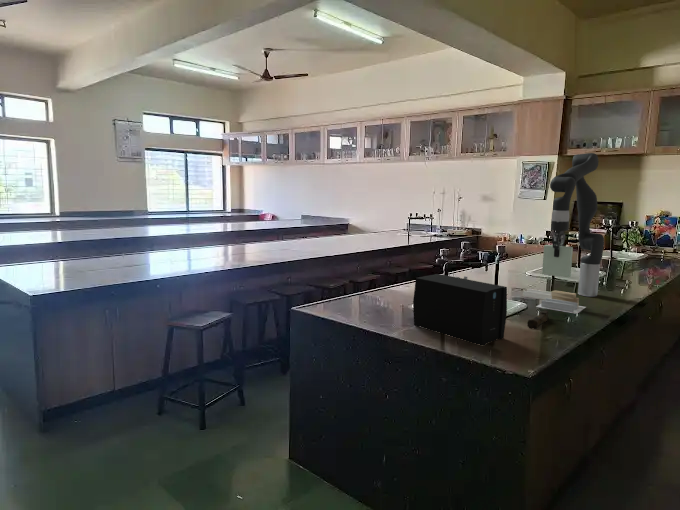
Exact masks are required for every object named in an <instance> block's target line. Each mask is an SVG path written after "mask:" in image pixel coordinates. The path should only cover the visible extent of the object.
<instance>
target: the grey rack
mask: <svg viewBox="0 0 680 510" xmlns="http://www.w3.org/2000/svg"><path fill="white" fill-rule="evenodd" d="M535 307H536V308H541V309H545V310H547V309H548V310H553V311H560V312H564V313H571V314H575V315H576V314H579V313H581V312H582V311H583V310H584V309H586V308H587V306H582V305H579V306H578V303H575V302H569V301H563V300H556V299H550V298H546V300H541V303H540V304H538V305H536V306H535Z"/></svg>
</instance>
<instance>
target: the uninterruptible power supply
mask: <svg viewBox="0 0 680 510" xmlns="http://www.w3.org/2000/svg"><path fill="white" fill-rule="evenodd" d="M457 277H458V276H451V275H446V274H441V273H440V274H439V273H435V274H429V275H424V276H419V277H418V276H417V277H415V281H414V282H415V283H414V292H413V299H412V300H413V301H412V310H413V311H412V313H413V326H414V325H417V326H416V327H418V326H421V327H424V328H427V329H426V330H428V329H430V330H429V331H431V330H433V331H432V332H434V331H437V332H440V333H439V334H441V333H443V334H442V335H444V334H447V335H450V336H453V337H452V338H454V337H456V338H455V339H457V338H460V339H463V340H462V341H464V340H466V341H465V342H467V341H469V342H468V343H470V342H472V343H471V344H473V343H476V344H475V345H477V344H480V345H485V344H486V343H487V344H489V343H488V342H490V343H492V342H495V341H497V340H496V339H498V340H503V339H504V336H505V328H506V323H507V314H508V313H507V312H508V286H505V285H504V286H503V285H499V284H494V283H493V284H492V283H488V282H482V281H477V280H472V279H468V278H467V279H464V278H461V277H460V278H457ZM421 327H420V328H421ZM424 328H423V329H424ZM437 332H436V333H437ZM447 335H446V336H447ZM450 336H449V337H450ZM502 338H503V339H502ZM460 339H459V340H460ZM494 340H495V341H494ZM491 341H492V342H491ZM487 344H486V345H487ZM480 345H479V346H480ZM486 345H485V346H486Z"/></svg>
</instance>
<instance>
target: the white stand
mask: <svg viewBox="0 0 680 510" xmlns="http://www.w3.org/2000/svg"><path fill="white" fill-rule="evenodd" d="M551 292H552V291H547V290H539V289H532V288H527V289H526V290H522V297H524V298H528V299H529V298H530V299H535V300H541V301H542V300H545V301H546V298H550V299H552V296H551Z"/></svg>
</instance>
